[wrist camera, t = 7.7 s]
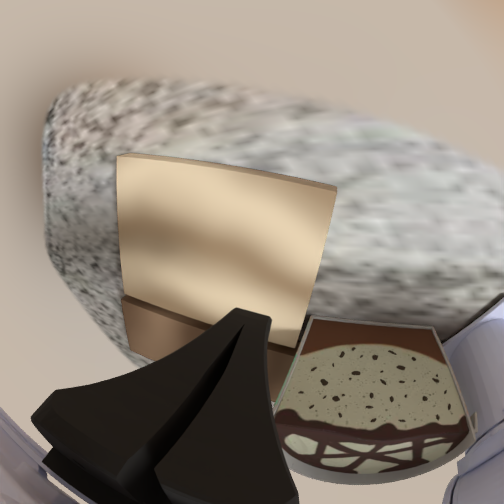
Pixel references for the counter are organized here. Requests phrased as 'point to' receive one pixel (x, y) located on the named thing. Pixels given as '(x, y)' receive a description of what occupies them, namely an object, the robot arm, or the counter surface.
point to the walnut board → (188, 338)
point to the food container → (370, 403)
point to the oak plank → (221, 239)
